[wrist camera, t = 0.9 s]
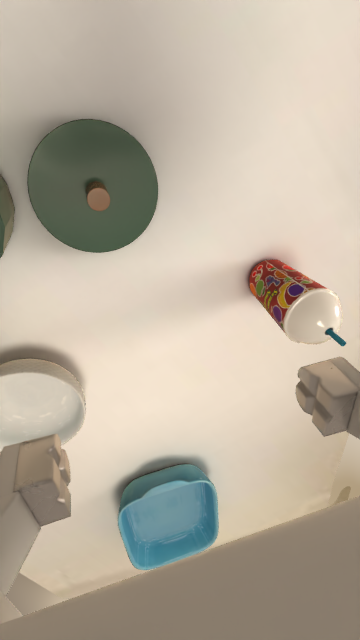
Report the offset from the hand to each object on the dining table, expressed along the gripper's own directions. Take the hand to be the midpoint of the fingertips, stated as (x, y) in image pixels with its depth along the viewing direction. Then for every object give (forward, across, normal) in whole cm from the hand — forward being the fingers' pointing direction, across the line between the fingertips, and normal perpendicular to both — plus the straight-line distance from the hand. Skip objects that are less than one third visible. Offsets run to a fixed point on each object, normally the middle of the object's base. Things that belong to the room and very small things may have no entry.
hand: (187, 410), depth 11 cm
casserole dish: (+39, -1, +74) cm, 84 cm away
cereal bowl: (+39, +17, +29) cm, 52 cm away
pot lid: (+38, 0, 0) cm, 38 cm away
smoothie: (+39, -24, +18) cm, 49 cm away
